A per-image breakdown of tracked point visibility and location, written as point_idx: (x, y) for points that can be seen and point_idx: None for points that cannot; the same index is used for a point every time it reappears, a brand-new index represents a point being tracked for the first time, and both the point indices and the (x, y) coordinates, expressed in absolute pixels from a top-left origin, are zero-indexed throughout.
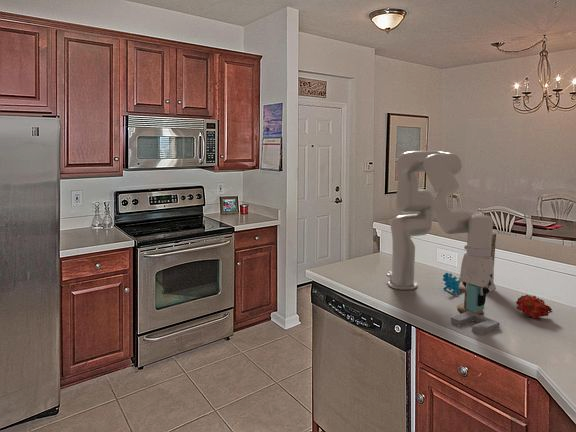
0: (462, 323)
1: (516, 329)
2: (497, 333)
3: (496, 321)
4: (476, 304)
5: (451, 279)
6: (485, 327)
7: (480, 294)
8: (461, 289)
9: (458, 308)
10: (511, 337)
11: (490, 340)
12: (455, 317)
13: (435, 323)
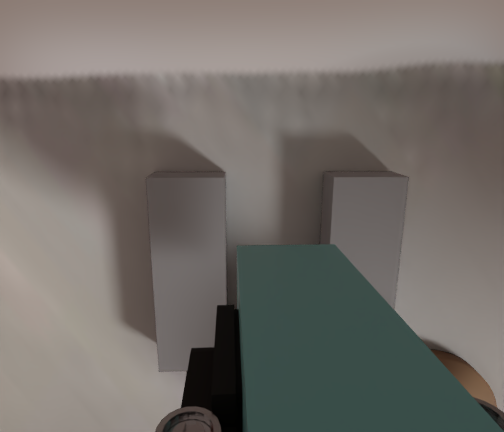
0: (323, 206)
1: (102, 406)
2: (120, 278)
3: (179, 369)
4: (238, 294)
5: None
6: (153, 230)
7: (205, 416)
8: None
9: (467, 367)
10: (42, 297)
11: (73, 154)
12: (385, 200)
13: (451, 68)
